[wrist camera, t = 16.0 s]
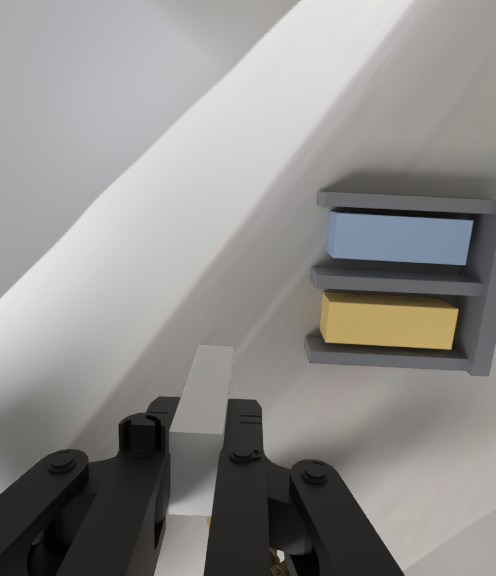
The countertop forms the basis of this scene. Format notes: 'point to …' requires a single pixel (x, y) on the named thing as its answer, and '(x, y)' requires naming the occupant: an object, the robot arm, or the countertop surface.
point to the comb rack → (423, 291)
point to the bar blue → (398, 238)
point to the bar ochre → (387, 320)
